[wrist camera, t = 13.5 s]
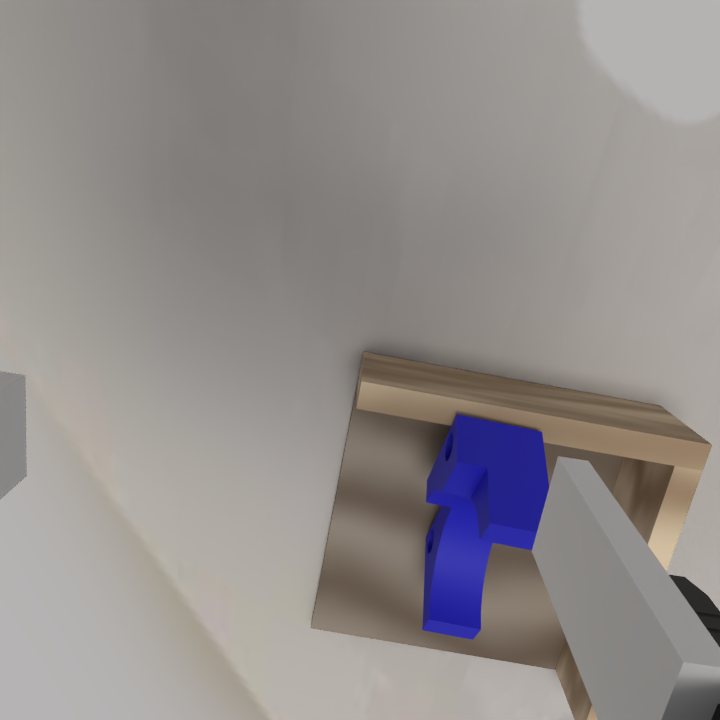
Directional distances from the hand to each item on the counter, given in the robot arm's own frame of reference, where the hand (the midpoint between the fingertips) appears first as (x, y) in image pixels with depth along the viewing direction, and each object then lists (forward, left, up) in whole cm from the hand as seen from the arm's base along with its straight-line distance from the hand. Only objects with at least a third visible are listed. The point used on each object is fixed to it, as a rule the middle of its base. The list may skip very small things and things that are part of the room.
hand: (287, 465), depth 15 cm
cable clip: (+9, +9, -19) cm, 23 cm away
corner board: (+13, +11, -22) cm, 28 cm away
